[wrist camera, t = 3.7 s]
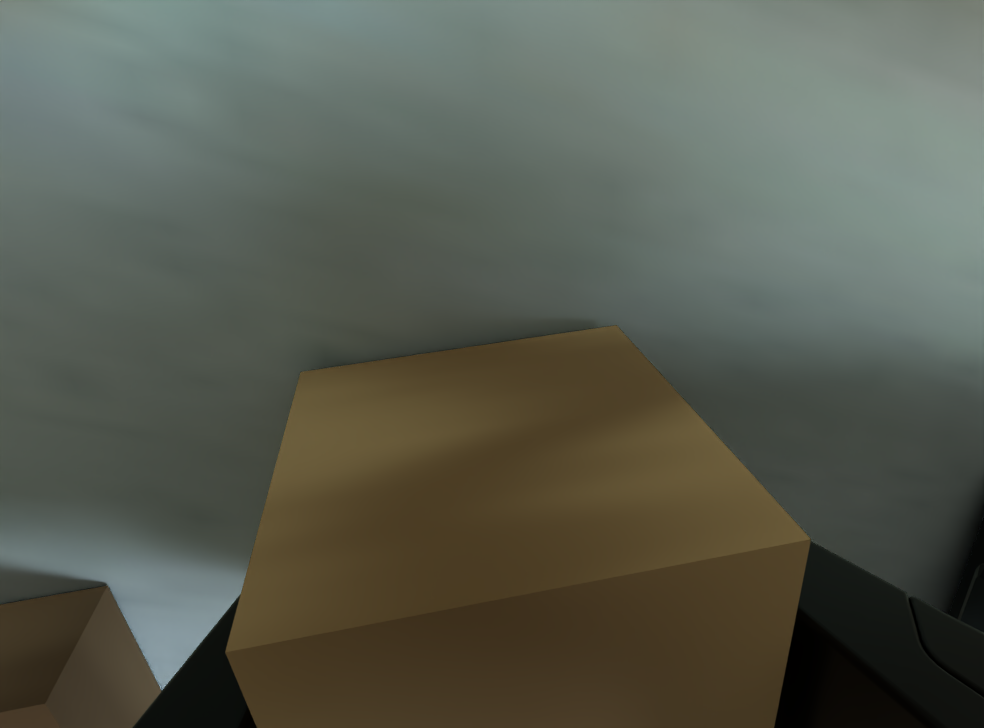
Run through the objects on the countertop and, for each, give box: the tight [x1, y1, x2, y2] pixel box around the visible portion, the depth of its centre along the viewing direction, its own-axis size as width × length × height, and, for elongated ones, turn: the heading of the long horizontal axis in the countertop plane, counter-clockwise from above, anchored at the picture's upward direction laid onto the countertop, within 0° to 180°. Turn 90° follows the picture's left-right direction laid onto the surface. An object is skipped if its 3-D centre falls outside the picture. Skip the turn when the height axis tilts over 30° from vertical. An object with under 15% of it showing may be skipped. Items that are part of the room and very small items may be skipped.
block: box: [225, 325, 811, 728], centre depth 8 cm, size 4×4×4 cm
